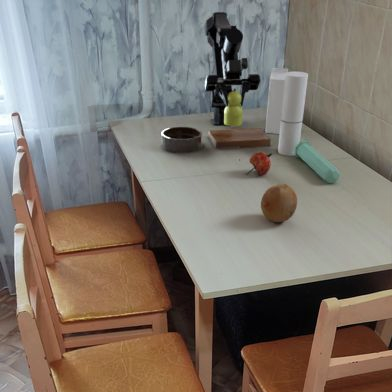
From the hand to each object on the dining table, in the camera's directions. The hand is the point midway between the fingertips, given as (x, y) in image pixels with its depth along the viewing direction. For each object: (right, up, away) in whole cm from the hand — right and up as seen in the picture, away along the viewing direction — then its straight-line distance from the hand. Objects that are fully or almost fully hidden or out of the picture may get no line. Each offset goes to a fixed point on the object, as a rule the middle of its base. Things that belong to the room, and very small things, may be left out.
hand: (234, 105), depth 187 cm
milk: (+17, 0, +21) cm, 27 cm away
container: (+26, -26, -10) cm, 38 cm away
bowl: (-18, -12, +6) cm, 23 cm away
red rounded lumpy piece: (+7, -28, -13) cm, 31 cm away
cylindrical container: (+19, -15, +3) cm, 24 cm away
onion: (+9, -49, -39) cm, 63 cm away
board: (+2, -8, +11) cm, 14 cm away
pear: (0, -4, +5) cm, 6 cm away
